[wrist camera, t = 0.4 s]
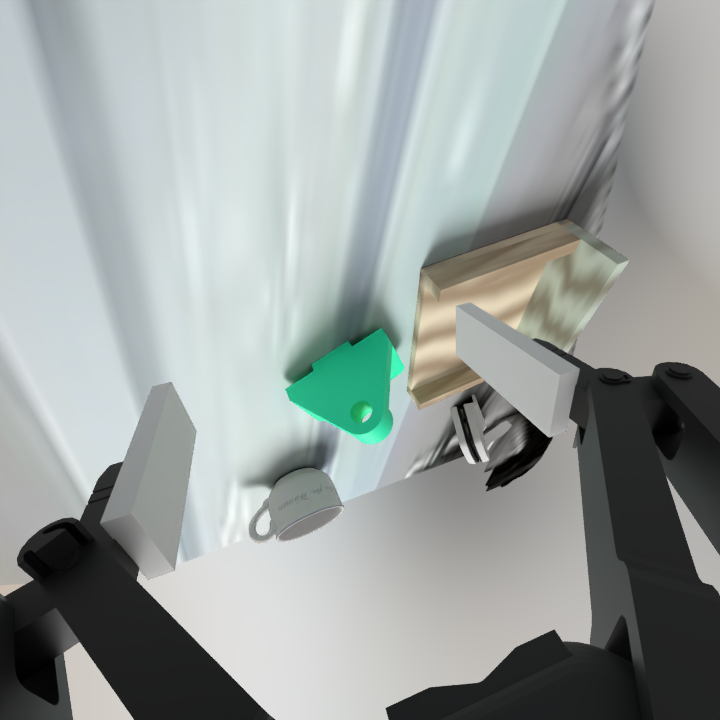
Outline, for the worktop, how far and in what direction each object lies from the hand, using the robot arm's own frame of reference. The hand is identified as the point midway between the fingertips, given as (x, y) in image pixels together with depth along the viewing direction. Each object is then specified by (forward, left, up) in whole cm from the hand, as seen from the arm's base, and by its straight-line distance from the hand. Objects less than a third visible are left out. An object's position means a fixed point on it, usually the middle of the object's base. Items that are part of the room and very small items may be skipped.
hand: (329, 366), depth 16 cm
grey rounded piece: (+51, +28, -14) cm, 60 cm away
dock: (+20, +24, -14) cm, 34 cm away
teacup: (+43, -7, -14) cm, 46 cm away
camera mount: (+20, +5, -14) cm, 25 cm away
